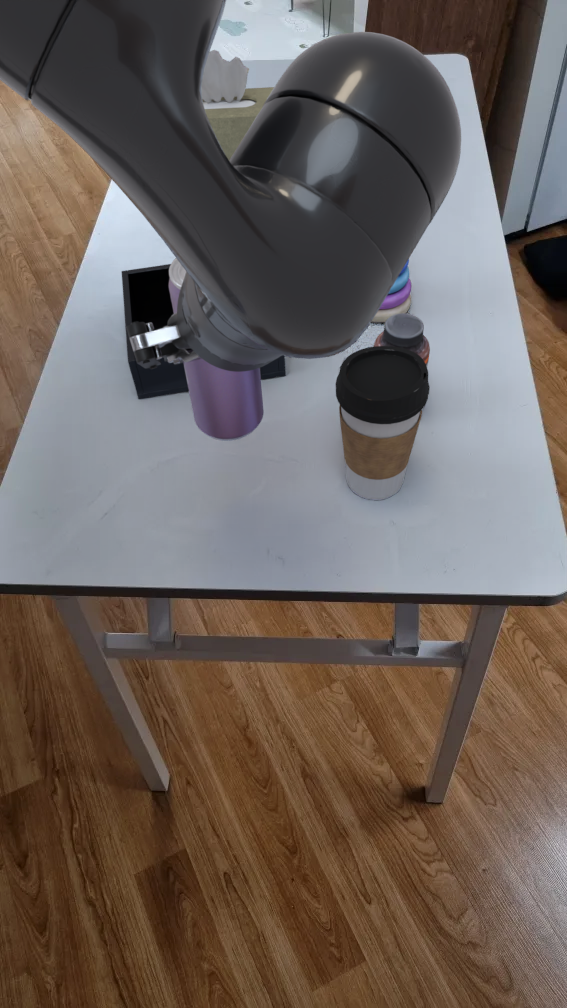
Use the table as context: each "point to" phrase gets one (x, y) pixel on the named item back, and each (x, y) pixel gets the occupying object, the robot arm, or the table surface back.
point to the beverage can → (219, 388)
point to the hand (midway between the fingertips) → (213, 340)
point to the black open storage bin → (153, 304)
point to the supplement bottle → (405, 335)
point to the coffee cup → (380, 416)
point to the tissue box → (230, 100)
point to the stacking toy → (396, 297)
